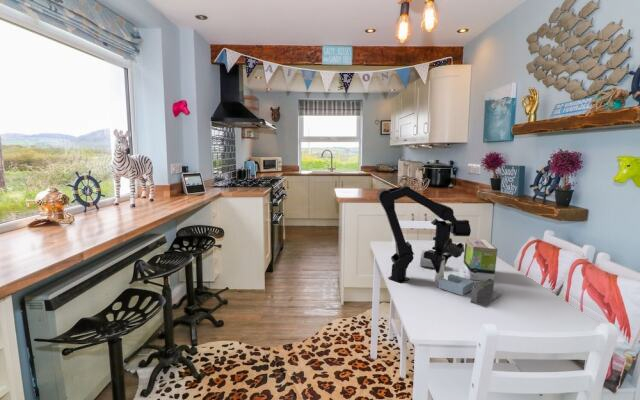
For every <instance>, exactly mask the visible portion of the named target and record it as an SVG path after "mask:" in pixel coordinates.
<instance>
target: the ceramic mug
mask: <svg viewBox="0 0 640 400" xmlns="http://www.w3.org/2000/svg"><path fill="white" fill-rule="evenodd" d="M426 251H427V250H425V249H422V250H421V253H420V259H419V260H420V261H419V267H425V268H430V269H435V268H434V266H433V264H432V262H431V260H430V259H426V258H424V252H426Z"/></svg>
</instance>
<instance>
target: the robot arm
mask: <svg viewBox="0 0 640 400" xmlns="http://www.w3.org/2000/svg"><path fill="white" fill-rule="evenodd" d="M376 197H377V200H378V202H379V203H380V205H381V207H382V208H383V210H384V212H385V215H386V219H387V221H388V223H389V226H390V227H389V228H390V230H391V233H392V236H393V238H394V243H395V244H394V245H395V253H394V254H393V255H392V256H390V258H391V261H392V264H391V276H388V277H387V279H388V280H390V281H391V280H392V281H394V282H397V283H400V284H402V283H404V282H406V281H408V280H410V277H407V271H408V270H407V269H408V268H409V265H410V264H411V263H412V262H413V260H414V258H415V257H414V256H415V253H414V250H413V247H412V244H411V243H410V242H409V241H406V240H405V237H404V233H403V231H402V227H401V225H400V222H399V219H398V216H397V212H396V205H395V201H396V200H399V199H402V198H404V197H407V198H408V199H411V200H412V201H414V202H415V203H418V204H419V205H421V206H423V207H425V208H427V209H428V210H429V211H430V212H432V213H433V214H434V215H435V216H437V218H439V219H441V220H439V219H437V218H434V220H432V221H431V222H430V223H431V225H433V226H435V234H434V236H433V237H432V240H433V241H434V246H432V247H431V249H428V250H426V252H424V258H426V259H430V260H431V262H432V264H433V266H434V268H433V269H434V271H436V273H439V271H440V266H441V262H442V261H443V260H444V258H442V257H443V256H444V257H445V266H444V269H445V268H446V265H447V262H448V260H449V259H450V258H452V257H453V258H456V259H457V258H459V257H461V256H462V254H463V253H464V252H465V244H463V243H462V242H459V243H458V244H457V243H454V242H453V239H452V238H451V234H452V235H453V236H454V237H470V236H471V232H472V230H471V225H470V221H469V219H457V218H456V217H455V215H454V214H455V213H454V209H453V208H452V207H450V206H448V205H445V204H443V203H440V202H437V201H434V200H432V199H430V198H428V197H426V196H425V195H423V194H421V193H419V192H417V191H416V190H414V189H412V188H411V187H410V186H408V185H401V186H398V187H392V188H389V189H387V188H380V189H379V190H378V191H377V193H376Z"/></svg>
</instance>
